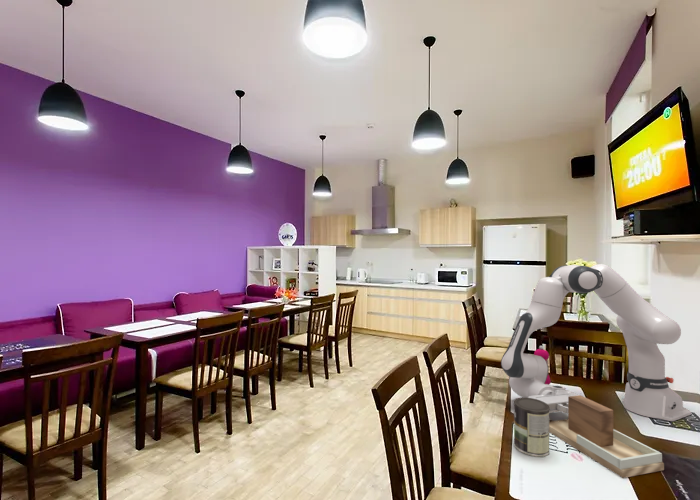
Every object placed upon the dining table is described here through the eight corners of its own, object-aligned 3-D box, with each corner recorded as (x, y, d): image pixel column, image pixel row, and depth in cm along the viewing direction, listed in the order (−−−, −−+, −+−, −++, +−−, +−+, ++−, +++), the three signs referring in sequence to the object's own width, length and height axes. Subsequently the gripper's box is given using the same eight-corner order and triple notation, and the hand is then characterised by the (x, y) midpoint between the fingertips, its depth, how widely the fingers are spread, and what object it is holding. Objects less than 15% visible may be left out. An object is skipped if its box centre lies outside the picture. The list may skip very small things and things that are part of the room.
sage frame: (614, 436, 118) (614, 429, 118) (662, 462, 104) (662, 453, 104) (576, 442, 114) (576, 434, 114) (621, 469, 100) (621, 460, 100)
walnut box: (580, 427, 124) (580, 395, 124) (613, 445, 112) (613, 410, 113) (568, 428, 123) (568, 396, 123) (600, 447, 111) (600, 411, 111)
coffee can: (509, 449, 114) (509, 404, 114) (518, 436, 122) (518, 394, 122) (546, 461, 107) (546, 414, 107) (552, 446, 115) (552, 402, 115)
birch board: (577, 423, 131) (577, 417, 131) (664, 470, 103) (663, 463, 103) (542, 428, 128) (542, 422, 128) (622, 477, 99) (622, 470, 99)
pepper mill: (553, 393, 159) (552, 348, 159) (535, 392, 160) (535, 347, 160) (547, 387, 166) (547, 344, 166) (530, 386, 167) (530, 343, 167)
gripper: (520, 390, 135) (549, 406, 121) (565, 385, 139) (597, 400, 126) (520, 407, 135) (549, 424, 121) (565, 402, 139) (598, 418, 126)
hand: (574, 412), depth 124 cm, fingers closed, pressing on walnut box
